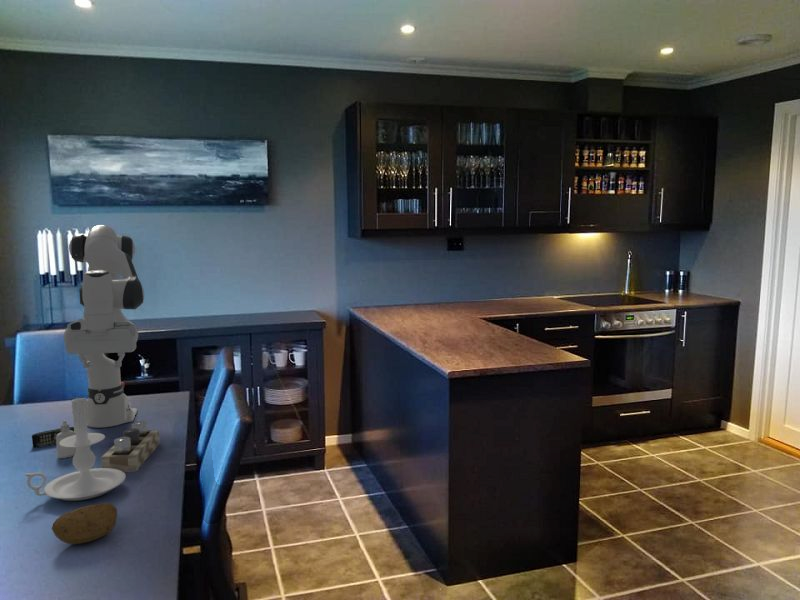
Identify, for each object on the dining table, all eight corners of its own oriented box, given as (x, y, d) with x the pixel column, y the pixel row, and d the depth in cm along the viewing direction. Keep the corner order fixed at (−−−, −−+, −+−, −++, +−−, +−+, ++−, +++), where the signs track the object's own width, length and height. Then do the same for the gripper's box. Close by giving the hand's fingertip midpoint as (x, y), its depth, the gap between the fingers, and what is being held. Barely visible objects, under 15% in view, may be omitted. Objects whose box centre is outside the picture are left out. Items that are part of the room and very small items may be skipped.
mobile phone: (31, 435, 211) (81, 425, 219) (31, 433, 213) (79, 423, 222) (33, 449, 211) (82, 439, 220) (32, 447, 214) (81, 437, 222)
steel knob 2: (135, 435, 212) (134, 421, 211) (149, 434, 212) (148, 420, 211) (130, 439, 207) (129, 425, 207) (144, 439, 208) (143, 424, 207)
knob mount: (129, 445, 214) (128, 431, 213) (159, 444, 214) (158, 430, 214) (102, 473, 190) (101, 457, 189) (136, 471, 191) (135, 455, 190)
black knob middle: (127, 443, 204) (126, 428, 203) (141, 443, 204) (140, 428, 204) (122, 448, 199) (121, 433, 199) (136, 448, 200) (135, 432, 199)
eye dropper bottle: (76, 457, 203) (73, 421, 202) (56, 459, 201) (53, 423, 200) (77, 452, 207) (75, 417, 206) (58, 454, 205) (56, 419, 204)
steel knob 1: (118, 452, 196) (117, 437, 195) (133, 451, 196) (132, 436, 196) (112, 457, 191) (111, 442, 191) (128, 457, 192) (127, 441, 191)
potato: (51, 540, 149) (48, 509, 148) (114, 524, 157) (112, 494, 156) (56, 558, 141) (53, 525, 140) (122, 540, 149) (120, 508, 148)
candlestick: (28, 490, 178) (19, 395, 175) (122, 473, 190) (116, 383, 186) (25, 520, 160) (16, 414, 157) (130, 498, 172) (123, 399, 169)
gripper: (138, 320, 197) (140, 364, 198) (70, 322, 195) (73, 366, 196) (131, 323, 190) (133, 368, 191) (61, 325, 189) (64, 370, 190)
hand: (102, 367), depth 194 cm, fingers open, 8 cm apart
